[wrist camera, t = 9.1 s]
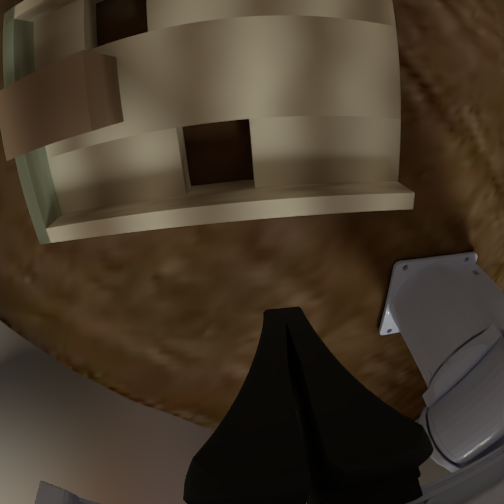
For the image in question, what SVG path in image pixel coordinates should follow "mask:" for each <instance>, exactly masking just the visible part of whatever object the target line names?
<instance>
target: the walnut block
mask: <svg viewBox="0 0 504 504" xmlns="http://www.w3.org/2000/svg"><path fill="white" fill-rule="evenodd" d="M121 122H124V119H123V112H122V105H121V97H120V89H119V80H118V70H117V59H116V57H114V56H109V55H105V54H100V53H96V52H91V51H86V50H82V51H79V52H77V53H74V54H72V55H69V56H67V57H65V58H62V59H60V60H58V61H55V62H53V63H51V64H49V65H47V66H45V67H43V68H41V69H39V70H37V71H35V72H33V73H31V74H29V75H27V76H25V77H23V78H21V79H19V80H18V81H16V82H14V83H12V84H11V85H9V86H7V87H5V88H4V89H2V90H0V128H1V134H2V140H3V145H4V151H5V156H6V160H7V161H8V160H10V159H13V158H15V157H17V156H20V155H22V154H25V153H28V152H30V151H33V150H36V149H38V148H41V147H44V146H47V145H49V144H52V143H55V142H58V141H61V140H64V139H67V138H71V137H74V136H77V135H80V134H84V133H87V132H91V131H94V130H97V129H100V128H104V127H107V126H110V125H114V124H117V123H121Z"/></svg>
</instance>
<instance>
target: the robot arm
mask: <svg viewBox="0 0 504 504" xmlns="http://www.w3.org/2000/svg"><path fill="white" fill-rule="evenodd" d="M465 258H466V259H465ZM476 260H477V254H476V253H475V252H467V253H459V254H452V255H444V256H436V257H428V258H420V259H411V260H403V261H398V262H396V263H395V264H394V266H393V271H392V276H391V281H390V286H389V290H388V295H387V299H386V303H385V308H384V312H383V316H382V320H381V324H380V327H379V333H380V335H387V334H392V333H397V332H400V333H401V335H402V337H403V339H404V341H405V342H406V344H407V346H408V348H409V350H410V352H411V354H412V356H413V358H414V360H415V362H416V364H417V366H418V368H419V370H420V372H421V374H422V376H423V378H424V380H425V382H426V384H427V387H428V390H427V391H426V392H425V393H424V394H423V395H422V396H423V399H424V401H425V403H426V405H427V406H426V407H425V408H424V409H423V411H422V413H421V415H420V424H419V423H417V422H415V421H413V420H411V419H410V418H408V417H406V416H404V415H403V414H401V413H400V412H398V411H397V410H395V409H394V408H392V407H391V406H389V405H388V404H386V403H385V402H383V401H382V400H381V399H380V398H378V397H377V396H376V395H374V394H373V393H372V392H371V391H369V390H368V389H367V388H366V387H364V386H363V385H362V384H361V383H360V382H359V381H358V380H357V379H356V378H355V377H354V376H352V375H351V374H350V373H349V372H348V371H347V370H346V369H345V367H344V366H343V365H342V364H341V363H340V362H339V361H338V360H337V359H336V358H335V356H334V355H333V354H332V353H331V352H330V350H329V349H328V348H327V347H326V345H325V344H324V343H323V341H322V340H321V339H320V337H319V336H318V335H317V333H316V332H315V330H314V329H313V327H312V326H311V324H310V323H309V321H308V320H307V318H306V316H305V315H304V313H303V311H302V309H301V308H300V307H290V308H280V309H269V310H266V311H264V320H263V328H262V333H261V337H260V341H259V344H258V348H257V351H256V354H255V357H254V360H253V362H252V365H251V368H250V370H249V373H248V375H247V377H246V380H245V382H244V384H243V386H242V388H241V390H240V392H239V394H238V396H237V397H236V399H235V401H234V403H233V404H232V406H231V408H230V410H229V411H228V413H227V414H226V416H225V417H224V419H223V420H222V422H221V423H220V425H219V426H218V427H217V429H216V430H215V432H214V433H213V434H212V436H211V437H210V438H209V440H208V441H207V442H206V443H205V444H204V445H203V447H202V448H201V449H200V450H199V451H198V453H197V454H196V455H195V456H194V457H193V459H192V461H191V464H190V466H189V469H188V472H187V475H186V479H185V484H184V497H183V499H184V501H185V502H186V503H187V504H306V502H307V504H421V503H422V504H504V292H503V291H502V290H501V289H500V288H499V287H498V286H497V285H496V284H495V282H494V281H493V280H492V279H491V278H490V277H489V276H488V275H487V274H486V273H485V272H484V271H483V270H482V269H481V268H480V267H479V266H478V265H477V264H476ZM405 265H406V266H405ZM404 266H405V267H404ZM403 267H404V268H403ZM295 408H296V409H295ZM296 412H297V414H296ZM297 417H298V419H297ZM298 422H299V423H298ZM429 457H431V458H432V459H433V460H434V461H435V462H436V463H437V464H439V465H441V466H443V467H444V468H446V469H447V470H449V471H450V472H451V474H449V475H447V476H444V477H442V478H440V479H438V480H435V481H433V482H431V483H428V484H426V485H423V486H420V483H419V480H418V478H419V477H420V476H421V473H420V470H419V466H420V465H421V464H423V463H424V462H425V461H426V460H427V459H428V458H429ZM35 504H99V503H95V502H92V501H89V500H86V499H83V498H79V497H78V496H77V495H75V494H73V493H71V492H69V491H67V490H65V489H62V488H60V487H57V486H54V485H52V484H49V483H47V482H44V481H40V484H39V488H38V492H37V496H36V500H35Z"/></svg>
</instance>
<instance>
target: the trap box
mask: <svg viewBox="0 0 504 504" xmlns="http://www.w3.org/2000/svg"><path fill="white" fill-rule="evenodd" d="M102 1H104V0H24V1H22V2H21V3H19V4H18V5H16V6H15V7H13V8H12V9H10V10H9V11H7V12H6V13H4V24H3V74H4V88H5V87H7V86H9V85H11V84H12V83H14V82H16V81H18V80H19V79H21V78H23V77H25V76H27V75H29V74H31V73H33V72H35V71H37V70H39V69H41V68H43V67H45V66H47V65H49V64H51V63H53V62H55V61H58V60H60V59H62V58H65V57H67V56H69V55H72V54H74V53H77V52H79V51H82V50H86V51H91V52H96V53H100V54H105V55H109V56H114V57H116V59H117V70H118V80H119V89H120V97H121V105H122V112H123V119H124V122H121V123H117V124H114V125H110V126H107V127H104V128H100V129H97V130H94V131H91V132H87V133H84V134H80V135H77V136H74V137H71V138H67V139H64V140H61V141H58V142H55V143H52V144H49V145H47V146H44V147H41V148H38V149H36V150H33V151H30V152H28V153H25V154H22V155H20V156H17V157H15V161H16V165H17V170H18V174H19V178H20V182H21V186H22V189H23V193H24V196H25V200H26V203H27V207H28V210H29V213H30V216H31V219H32V222H33V225H34V228H35V231H36V234H37V237H38V239H39V242H40V244H47V243H53V242H60V241H67V240H74V239H82V238H89V237H97V236H104V235H112V234H120V233H128V232H137V231H145V230H154V229H163V228H172V227H181V226H191V225H200V224H210V223H221V222H231V221H242V220H254V219H266V218H278V217H291V216H304V215H318V214H333V213H349V212H367V211H386V210H407V209H413V205H414V197H415V193H414V192H413V191H411V190H410V189H408V188H407V187H405V186H404V185H402V184H401V183H399V182H398V174H399V159H400V135H401V91H400V68H399V53H398V42H397V32H396V24H395V16H394V9H393V3H392V0H146V5H147V23H148V32H146V33H142V34H138V35H134V36H131V37H127V38H124V39H120V40H117V41H114V42H111V43H108V44H105V45H102V46H99V47H98V46H97V26H96V3H99V2H102ZM242 119H249V128H250V139H251V151H252V163H253V175H254V180H242V181H232V182H222V183H212V184H203V185H195V186H191V183H190V176H189V169H188V163H187V156H186V149H185V141H184V134H183V127H184V126H190V125H198V124H205V123H213V122H222V121H231V120H242Z"/></svg>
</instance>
